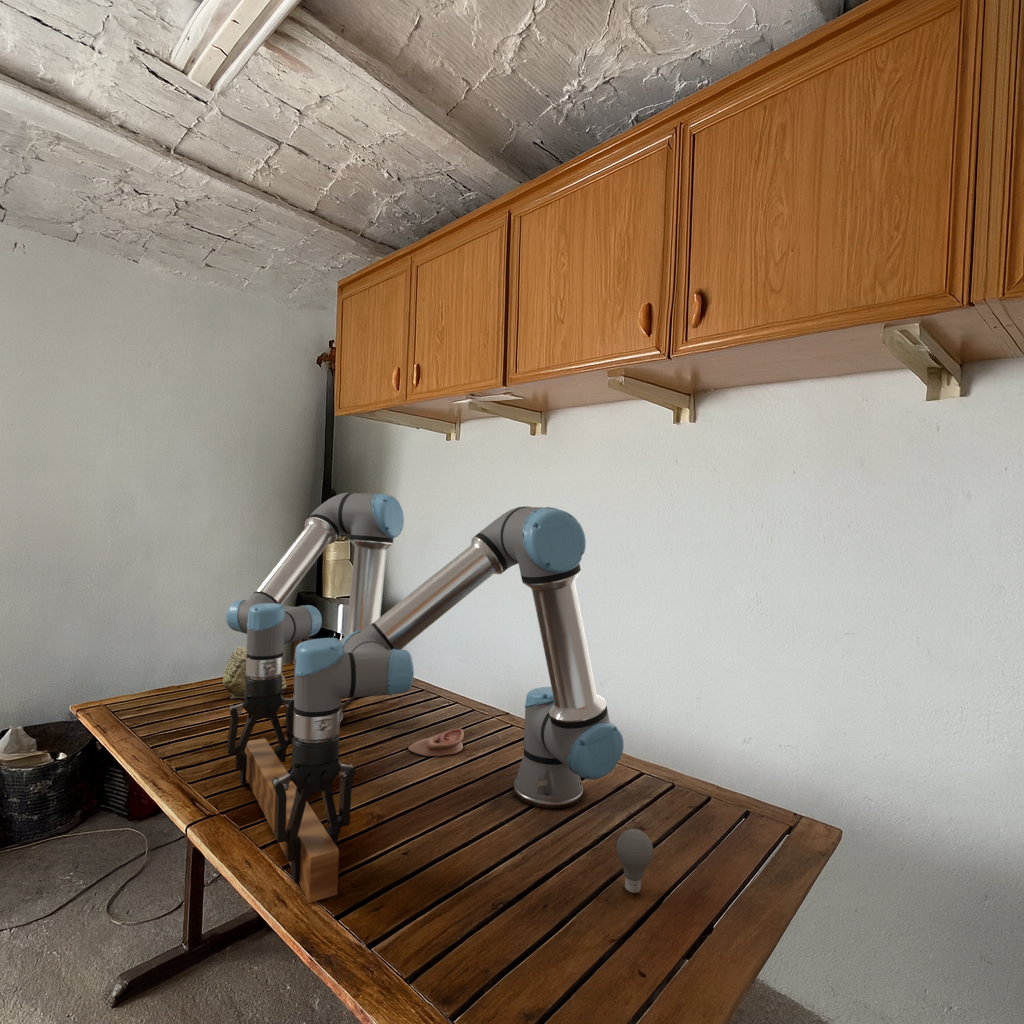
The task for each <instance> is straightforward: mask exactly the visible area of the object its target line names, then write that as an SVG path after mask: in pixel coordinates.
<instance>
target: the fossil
mask: <svg viewBox="0 0 1024 1024" xmlns="http://www.w3.org/2000/svg"><path fill="white" fill-rule="evenodd" d="M246 657H247V646H246V647H245V646H238V647H237V648H236V649H235V650H233V651H232V653H231V656H230V657H229V659H228V660H227V663H226V666H225V668H224V671H223V675H222V676H223V677H222V685H223V687H224V688H225V690H226V691H228V693H229V698H230V699H244V698H245V679H246V678H247V677H248V676H247V675H246ZM280 675H281V676H282V694H284V693H285V691H286V689H287V687H288V686H287V680H286V678H285V676H284V674H283V672H282V673H281V674H280Z"/></svg>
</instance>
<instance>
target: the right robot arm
mask: <svg viewBox="0 0 1024 1024" xmlns="http://www.w3.org/2000/svg"><path fill="white" fill-rule="evenodd" d="M470 542H471V543H470V545H469V546H467V548H466V549H464V551H462V552H461V553H459V554H458V555H457V556H456V557H454V558H453V559H452V560H450V561H449V562H448V563H447V564H445V565H444V566H443V567H441V568H440V569H439V570H438V571H436V572H435V573H434V574H433V575H432V576H430V577H429V578H428V579H427V580H425V581H424V582H423V583H422V584H420V585H418V587H417V588H416V589H414V590H413V591H411V592H410V593H409V594H408V595H406V596H405V597H404V598H403V599H401V600H400V601H399V602H397V603H396V604H395V605H394V606H393V607H391V608H390V609H389V610H387V612H385V613H384V614H382V615H380V618H379V619H378V620H376V621H375V622H374V623H372V624H371V625H370V626H368V627H367V628H366V629H364V630H363V631H356V632H353V633H351V634H349V635H348V636H347V637H346V638H345V639H344V640H343V642H342V644H341V643H340V641H339V642H337V641H332V640H328V641H327V640H315V641H309V642H306V643H303V644H302V645H301V646H300V647H299V648H298V650H297V658H296V669H295V689H294V688H293V696H294V718H293V735H294V736H295V737H294V738H293V742H292V744H291V750H292V751H291V764H290V766H289V769H288V771H287V772H288V774H286V775H284V776H283V777H281V778H278V777H275V778H273V779H272V784H273V787H274V789H275V822H274V833H273V835H274V834H275V835H274V836H276V837H275V838H277V839H276V841H277V840H278V841H277V842H280V843H281V842H286V850H285V854H284V856H285V859H286V860H287V862H288V863H289V862H291V866H290V876H291V879H292V880H293V882H294V883H295V884H297V883H299V881H300V855H301V841H300V840H299V838H298V832H299V828H300V824H301V821H302V817H303V813H304V809H305V806H306V802H308V801H309V798H310V795H311V794H314V793H316V792H319V793H321V797H322V801H323V806H324V812H325V816H326V817H325V818H326V822H327V825H328V826H326V827H324V828H325V830H326V831H327V833H328V834H329V836H330V837H331V839H332V840H333V842H334V843H335V845H336V846H337V847H338V845H339V834H341V831H342V830H341V829H342V828H343V827H348V826H349V825H350V823H351V822H350V821H351V806H352V784H353V781H354V777H355V775H356V772H357V769H356V768H355V767H354V766H353V765H352V764H351V763H350V762H347V763H345V764H344V763H341V761H340V758H339V757H340V735H339V734H340V731H341V730H340V729H341V724H340V710H341V709H342V708H341V706H342V700H343V699H350V698H354V697H358V698H364V697H366V698H367V697H380V696H392V695H397V694H403V693H407V692H409V691H410V690H411V688H412V686H413V683H414V674H415V670H414V669H415V668H414V661H413V657H412V655H411V653H410V651H408V650H406V649H403V648H405V647H406V646H407V645H408V644H410V643H411V642H412V641H413V640H414V639H416V638H417V637H418V636H419V635H421V634H422V633H423V632H424V631H425V630H427V629H428V628H429V627H430V626H432V625H433V624H435V622H437V621H438V620H439V619H440V618H442V617H443V616H444V615H445V614H447V613H448V612H449V611H450V610H451V609H453V608H454V607H455V606H457V604H459V603H460V602H461V601H462V600H464V598H466V597H467V596H468V595H470V594H471V593H472V592H473V591H475V590H476V589H477V588H479V587H480V586H481V585H482V584H483V583H485V581H487V580H488V579H490V578H491V577H492V576H493V575H503V573H505V572H506V571H507V570H509V568H512V567H513V566H516V565H518V568H519V573H520V577H521V581H522V584H523V585H525V586H527V587H528V588H529V589H530V590H531V593H532V598H533V601H534V602H533V603H534V608H535V612H536V613H535V614H536V617H537V623H538V627H539V633H540V637H541V643H542V648H543V652H544V656H545V657H544V658H545V661H546V668H547V671H548V676H549V681H550V686H542V687H536V688H532V689H531V690H529V691H528V692H527V694H526V698H525V702H524V703H525V705H524V732H523V733H524V734H523V754H522V755H523V756H522V759H521V762H520V764H519V768H518V771H517V774H516V775H515V777H514V782H513V793H514V796H515V797H516V798H517V799H518V800H520V801H521V802H523V803H524V804H527V805H530V806H531V807H532V806H533V807H536V808H542V809H551V810H552V809H554V810H555V809H563V808H569V807H573V806H574V805H577V804H578V803H580V801H582V799H583V796H584V795H583V794H584V787H583V781H582V779H581V778H583V779H585V780H599V779H602V778H604V777H605V776H607V775H608V774H610V773H611V772H612V771H613V770H614V769H615V768H616V766H617V765H618V762H619V761H620V760H621V757H622V756H623V752H624V746H625V745H624V744H625V742H624V741H625V740H624V737H623V734H622V732H621V730H620V729H619V728H618V726H616V725H615V724H614V723H613V722H612V723H611V721H610V716H609V711H608V707H607V701H606V699H605V697H603V696H601V695H600V694H598V693H597V689H596V684H595V679H594V673H593V668H592V663H591V659H590V658H591V657H590V653H589V648H588V647H589V646H588V642H587V637H586V633H585V626H584V622H583V621H584V620H583V615H582V612H581V611H582V610H581V606H580V600H579V596H578V589H577V585H576V579H577V578H579V576H580V574H581V573H582V568H581V564H580V562H581V561H582V559H583V555H584V554H585V552H586V547H587V540H586V534H585V531H584V529H583V526H582V525H581V522H580V521H579V520H578V519H577V518H576V517H575V516H574V515H572V514H571V513H569V512H567V511H565V510H562V509H559V508H556V507H550V506H546V507H544V506H542V507H541V506H540V507H539V506H525V505H523V506H518V507H515V508H512V509H509V510H507V511H506V512H504V513H503V514H501V515H500V516H499V517H497V518H496V519H494V520H493V521H492V522H490V523H489V524H488V525H487V526H486V527H484V528H483V529H481V530H480V531H479V532H478V533H476V534H475V535H474V536H473V537H472V538H471V540H470ZM338 774H339V776H340V777H339V778H340V779H339V780H340V781H339V794H338V795H339V796H338V797H339V798H338V814H337V809H336V804H335V800H334V795H333V794H334V792H333V787H332V784H333V782H334V780H335V779H336V777H337V775H338ZM290 781H292V782H293V783H294V784H295V785H296V786H297V787H296V791H295V799H294V803H293V807H292V810H291V814H290V818H289V822H288V825H287V829H286V792H285V791H287V790H288V788H289V782H290Z"/></svg>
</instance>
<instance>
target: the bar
mask: <svg viewBox="0 0 1024 1024" xmlns="http://www.w3.org/2000/svg"><path fill="white" fill-rule="evenodd" d="M245 753H246V755H247V771H246V782H247V783H248V786H249V787H250V790H251V791H252V793H253V795H254V798H255V799H256V801H257V803H258V805H259V807H260V809H261V811H262V813H263V815H264V817H265V819H266V821H267V823H268V825H269V827H270V828H271V830H272V833H273V835H274V836H275V834H274V822H275V789H274V787H273V784H272V779H273V778H275V777H278V778H281V777H283V776H284V775H286V774H288V771H287V769H286V768H285V766H284V764H283V762H281V761H280V760H279V758H278V757H277V755H276V754H275V750H274V748H272V746H271V745H270V743H269V742H268V740H267V738H265V737H264V738H263V737H262V738H259V739H252V740H251V739H250V740H248V743H247V745H246V748H245ZM296 787H297V786H296V785H295V784H294V783H293V782H292V781H290V782H289V788H288V790H287V791H285V792H286V829H287V825H288V822H289V818H290V814H291V810H292V807H293V803H294V799H295V791H296ZM325 828H326V827H324V825H323V824H322V822H321V821H320V819H319V818H318V816H317V815H316V813H315V812H314V810H313V808H312V807H311V806H310V804H309V802H308V801H307V802H306V806H305V809H304V813H303V817H302V821H301V824H300V828H299V832H298V838H299V840H300V841H301V855H300V881H299V882H298V884H299V886H300V888H301V890H302V892H303V894H304V896H305V898H306V900H307V902H308V904H311V903H315V902H317V901H320V900H324V899H327V898H330V897H334V896H337V895H338V887H339V884H338V883H339V860H340V858H339V857H340V850H339V848H338V846H336V845H335V843H334V842H333V840H332V839H331V837H330V836H329V834H328V833H327V831H326V830H325ZM275 838H276V836H275ZM276 841H277V842H278V840H277V838H276ZM278 845H279V846H280V848H281V851H282V852H283V855H285V850H286V842H281V843H280V842H278ZM288 865H289V867H291V862H288Z"/></svg>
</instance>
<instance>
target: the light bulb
mask: <svg viewBox="0 0 1024 1024" xmlns="http://www.w3.org/2000/svg"><path fill="white" fill-rule="evenodd" d="M615 849H616V854H617V857H618V859H619V861H620V863H621V865H622V867H623V873H624V874H623V875H624V876H625V878H624V888H625V890H627V891H628V892H630V893H634V894H635V893H639V892H640V891H641V889H642V887H641V886H642V879H643V877H644V875H645V871H646V868H647V867H648V866H649V864H650V863H651V861H652V859H653V855H654V847H653V843H652V841H651V838H649V836H648V835H647V834H646V833H645V832H643V831H642V830H641V829H636V828H629V829H627V830H625V831H623V832H622V833H621V834H620V835H619V837H618V839H617V841H616V847H615Z"/></svg>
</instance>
